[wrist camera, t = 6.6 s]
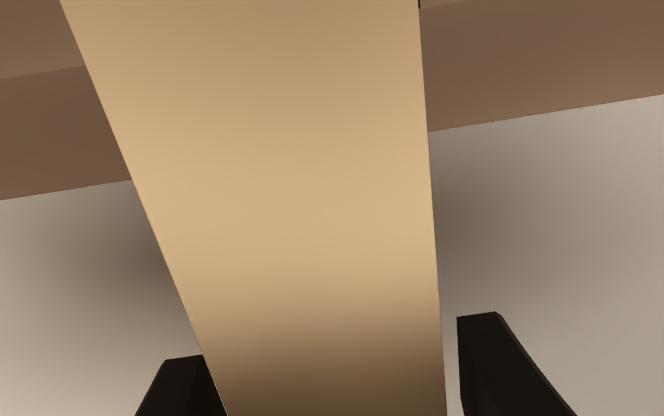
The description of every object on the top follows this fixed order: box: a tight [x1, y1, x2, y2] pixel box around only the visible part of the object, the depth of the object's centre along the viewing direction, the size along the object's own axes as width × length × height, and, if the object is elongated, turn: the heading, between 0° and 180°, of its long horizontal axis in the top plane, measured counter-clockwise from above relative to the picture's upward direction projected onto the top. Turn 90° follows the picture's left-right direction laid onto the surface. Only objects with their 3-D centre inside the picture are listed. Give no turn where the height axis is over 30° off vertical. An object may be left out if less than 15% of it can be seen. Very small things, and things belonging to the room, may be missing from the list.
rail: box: [60, 0, 447, 416], centre depth 12 cm, size 14×3×6 cm, turn 9°
